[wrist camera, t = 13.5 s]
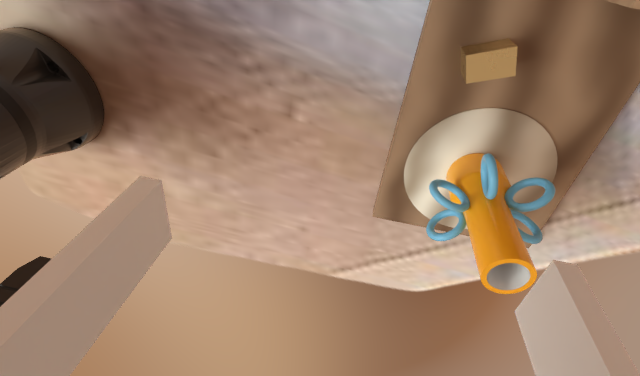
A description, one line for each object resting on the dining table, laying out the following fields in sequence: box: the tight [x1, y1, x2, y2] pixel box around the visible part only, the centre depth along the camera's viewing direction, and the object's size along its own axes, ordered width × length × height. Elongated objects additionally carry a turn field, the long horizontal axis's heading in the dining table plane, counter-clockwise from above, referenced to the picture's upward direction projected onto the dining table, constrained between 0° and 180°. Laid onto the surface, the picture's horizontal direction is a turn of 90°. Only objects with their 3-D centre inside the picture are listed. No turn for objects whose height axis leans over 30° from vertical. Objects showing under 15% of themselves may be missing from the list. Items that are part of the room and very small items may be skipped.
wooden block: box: [461, 38, 518, 84], centre depth 32 cm, size 4×2×3 cm, turn 103°
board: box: [373, 0, 640, 248], centre depth 35 cm, size 20×29×8 cm
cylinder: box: [426, 153, 555, 294], centre depth 34 cm, size 12×10×15 cm
